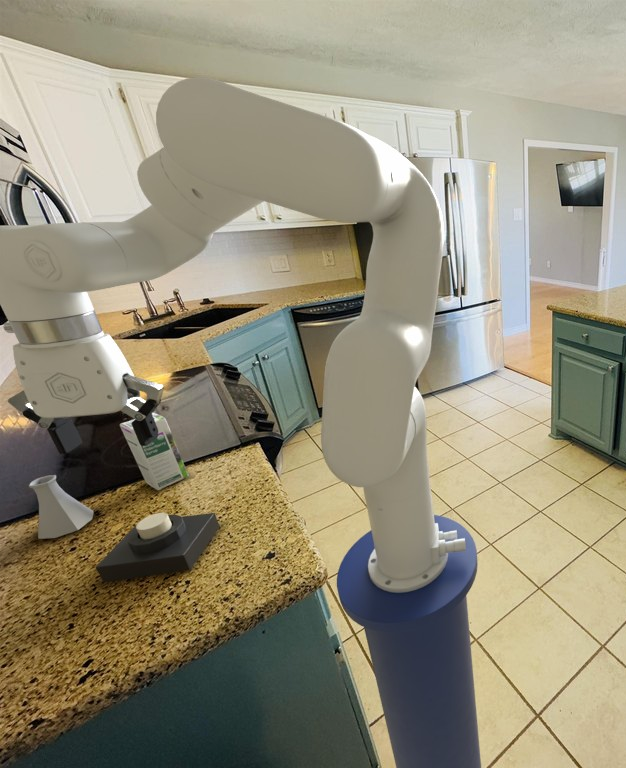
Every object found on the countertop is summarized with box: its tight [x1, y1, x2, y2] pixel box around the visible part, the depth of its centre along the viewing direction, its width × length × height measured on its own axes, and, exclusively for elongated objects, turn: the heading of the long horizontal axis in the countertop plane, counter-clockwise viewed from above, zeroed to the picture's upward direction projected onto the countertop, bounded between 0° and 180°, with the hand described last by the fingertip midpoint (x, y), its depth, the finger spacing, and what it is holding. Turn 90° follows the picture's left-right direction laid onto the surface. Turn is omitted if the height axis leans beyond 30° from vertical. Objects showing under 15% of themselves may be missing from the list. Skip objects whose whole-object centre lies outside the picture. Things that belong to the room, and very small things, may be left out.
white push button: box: [135, 512, 172, 540], centre depth 66 cm, size 4×4×2 cm
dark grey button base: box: [95, 512, 220, 583], centre depth 67 cm, size 12×10×5 cm
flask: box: [28, 474, 94, 540], centre depth 72 cm, size 7×7×10 cm
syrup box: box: [119, 412, 189, 492], centre depth 84 cm, size 6×6×14 cm
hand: (111, 444), depth 58 cm, fingers open, 9 cm apart
